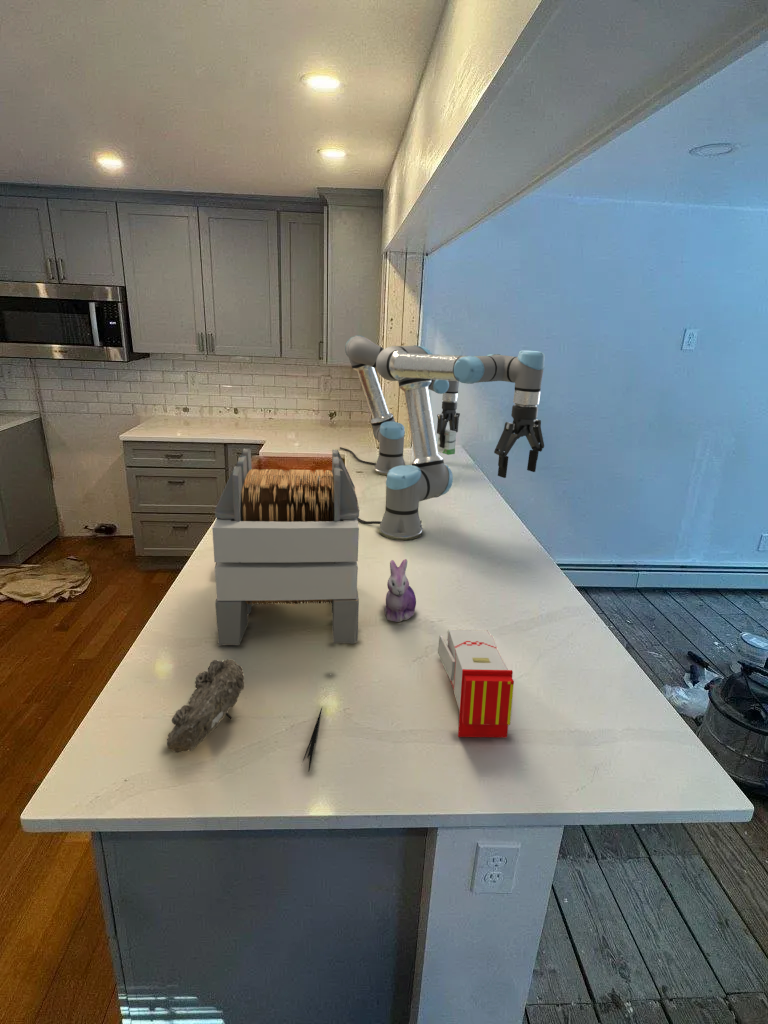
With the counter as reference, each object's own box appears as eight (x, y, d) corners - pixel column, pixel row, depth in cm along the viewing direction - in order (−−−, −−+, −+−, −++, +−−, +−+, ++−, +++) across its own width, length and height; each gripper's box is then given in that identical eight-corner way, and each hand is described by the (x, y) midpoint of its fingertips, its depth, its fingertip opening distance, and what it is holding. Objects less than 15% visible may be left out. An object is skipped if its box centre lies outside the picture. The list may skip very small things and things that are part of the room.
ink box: (455, 454, 290) (457, 431, 285) (448, 455, 287) (449, 432, 283) (443, 450, 296) (445, 427, 292) (436, 451, 293) (438, 428, 289)
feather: (331, 679, 122) (336, 673, 122) (307, 777, 96) (313, 769, 95) (324, 675, 122) (329, 669, 121) (298, 772, 95) (304, 764, 95)
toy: (488, 613, 130) (523, 677, 101) (484, 667, 133) (517, 744, 104) (435, 612, 130) (455, 676, 101) (432, 666, 133) (451, 743, 103)
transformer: (235, 580, 161) (228, 439, 147) (350, 579, 165) (354, 441, 151) (215, 647, 129) (204, 476, 115) (358, 644, 133) (363, 478, 119)
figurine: (392, 627, 141) (395, 572, 136) (374, 608, 149) (376, 556, 144) (425, 619, 145) (429, 566, 140) (405, 601, 154) (408, 550, 149)
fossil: (192, 660, 117) (244, 628, 112) (224, 691, 120) (276, 661, 115) (142, 746, 98) (202, 712, 93) (182, 779, 101) (242, 748, 96)
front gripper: (542, 400, 178) (533, 465, 185) (486, 405, 164) (479, 476, 171) (562, 404, 173) (552, 471, 180) (506, 409, 158) (498, 482, 165)
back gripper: (457, 399, 290) (454, 443, 298) (431, 401, 280) (428, 447, 288) (468, 401, 285) (464, 446, 293) (441, 403, 275) (437, 450, 283)
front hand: (516, 473), depth 175 cm, fingers open, 13 cm apart
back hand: (446, 446), depth 290 cm, fingers closed on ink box, 5 cm apart
